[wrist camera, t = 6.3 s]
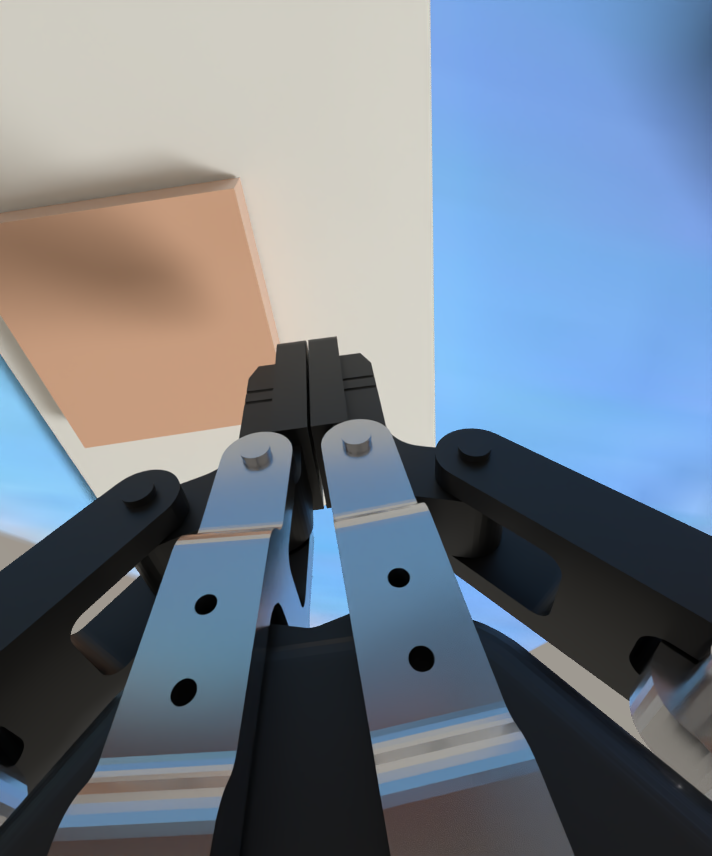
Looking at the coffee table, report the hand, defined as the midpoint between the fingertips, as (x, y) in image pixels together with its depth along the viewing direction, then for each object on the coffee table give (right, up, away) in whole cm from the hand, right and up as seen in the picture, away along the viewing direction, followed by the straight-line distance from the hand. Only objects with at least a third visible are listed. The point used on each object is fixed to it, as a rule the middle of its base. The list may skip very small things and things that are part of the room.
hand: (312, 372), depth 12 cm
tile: (-2, +3, +4) cm, 5 cm away
